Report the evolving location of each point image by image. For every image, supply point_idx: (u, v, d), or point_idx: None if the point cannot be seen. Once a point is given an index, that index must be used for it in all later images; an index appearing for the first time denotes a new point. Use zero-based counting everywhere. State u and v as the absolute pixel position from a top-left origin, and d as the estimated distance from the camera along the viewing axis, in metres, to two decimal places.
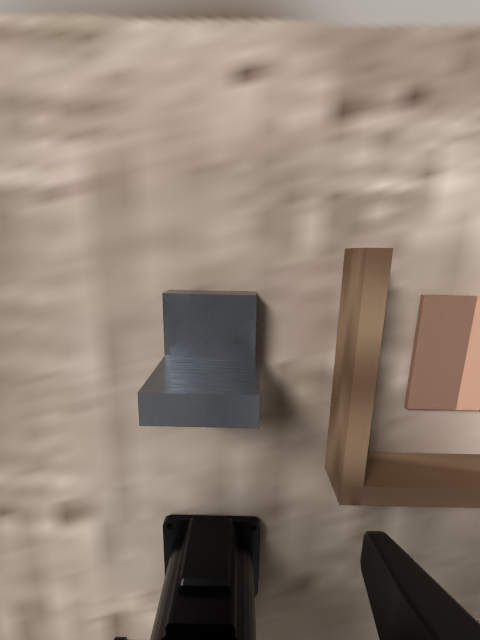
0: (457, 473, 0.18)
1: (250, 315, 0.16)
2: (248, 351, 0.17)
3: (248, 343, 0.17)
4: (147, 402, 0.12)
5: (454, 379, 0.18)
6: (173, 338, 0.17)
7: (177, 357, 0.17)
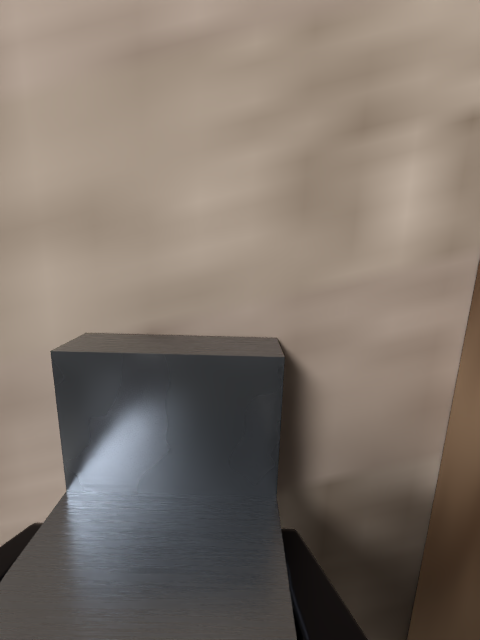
0: None
1: (267, 404, 0.07)
2: (261, 482, 0.07)
3: (261, 466, 0.07)
4: None
5: None
6: (83, 454, 0.07)
7: (93, 498, 0.07)
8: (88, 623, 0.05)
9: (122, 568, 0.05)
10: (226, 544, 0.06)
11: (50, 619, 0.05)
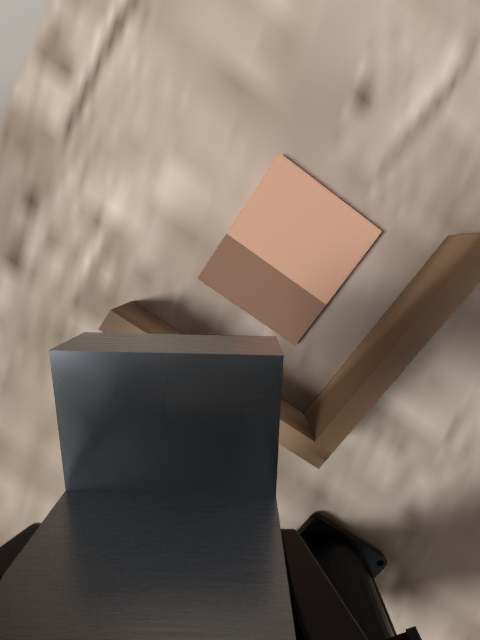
0: (377, 348, 0.17)
1: (266, 403, 0.07)
2: (260, 481, 0.07)
3: (260, 464, 0.07)
4: None
5: (294, 291, 0.17)
6: (82, 453, 0.07)
7: (93, 497, 0.07)
8: (87, 622, 0.05)
9: (121, 567, 0.05)
10: (225, 543, 0.06)
11: (49, 618, 0.05)
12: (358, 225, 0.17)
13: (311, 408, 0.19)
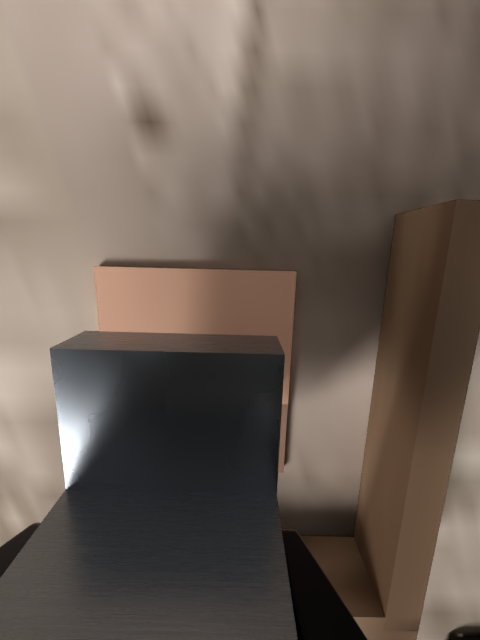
0: (392, 438, 0.10)
1: (267, 402, 0.07)
2: (261, 481, 0.07)
3: (261, 464, 0.07)
4: None
5: None
6: (82, 452, 0.07)
7: (93, 496, 0.07)
8: (87, 621, 0.05)
9: (121, 566, 0.05)
10: (226, 542, 0.06)
11: (49, 617, 0.05)
12: (259, 285, 0.11)
13: (358, 532, 0.13)
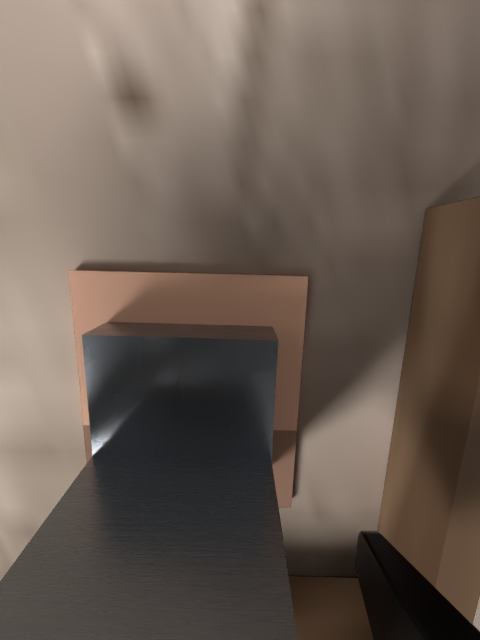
0: (422, 475, 0.09)
1: (263, 380, 0.08)
2: (258, 448, 0.08)
3: (259, 434, 0.08)
4: None
5: None
6: (107, 423, 0.08)
7: (116, 461, 0.08)
8: (121, 545, 0.06)
9: (144, 510, 0.07)
10: (229, 494, 0.07)
11: (90, 542, 0.06)
12: (264, 293, 0.09)
13: None
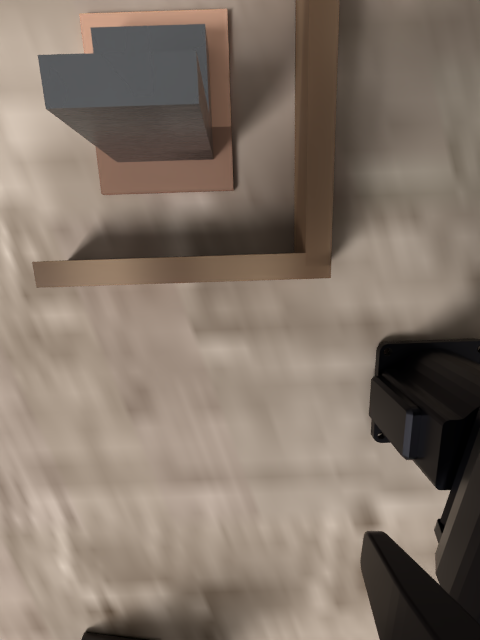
0: (302, 119, 0.14)
1: (199, 53, 0.13)
2: None
3: None
4: (52, 70, 0.10)
5: None
6: None
7: None
8: None
9: None
10: None
11: None
12: (201, 22, 0.14)
13: (295, 240, 0.17)
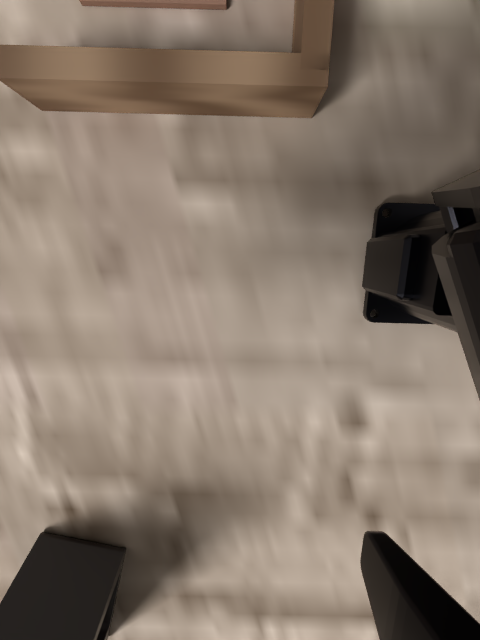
0: None
1: None
2: None
3: None
4: None
5: None
6: None
7: None
8: None
9: None
10: None
11: None
12: None
13: None
